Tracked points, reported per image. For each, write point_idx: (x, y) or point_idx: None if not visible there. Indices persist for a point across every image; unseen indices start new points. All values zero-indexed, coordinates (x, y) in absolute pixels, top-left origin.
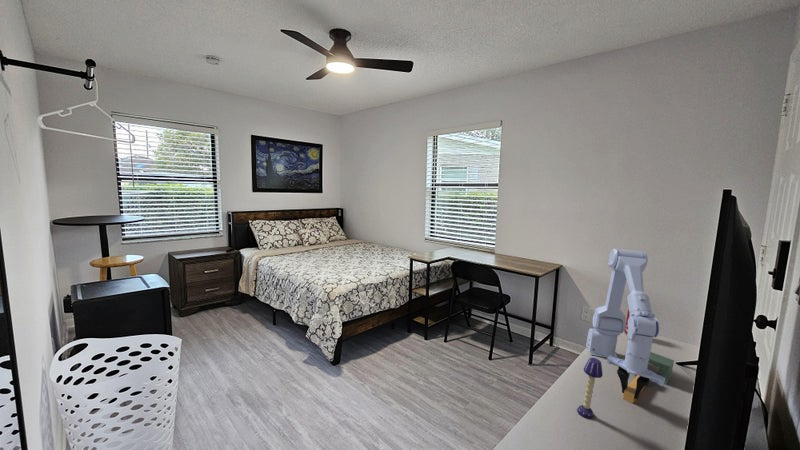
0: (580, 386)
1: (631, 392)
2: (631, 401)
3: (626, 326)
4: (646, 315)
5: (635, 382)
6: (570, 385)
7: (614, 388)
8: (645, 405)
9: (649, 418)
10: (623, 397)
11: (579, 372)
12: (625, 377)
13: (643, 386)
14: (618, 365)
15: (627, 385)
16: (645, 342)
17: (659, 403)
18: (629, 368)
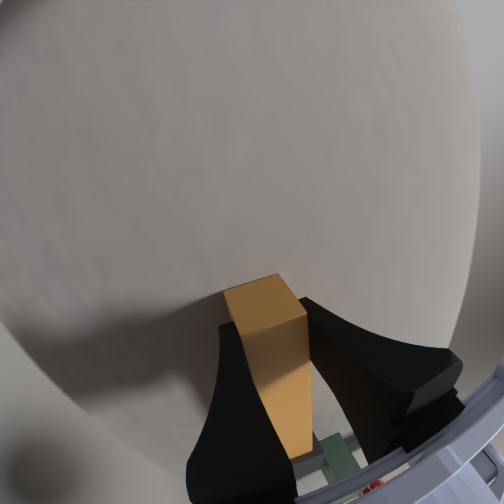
0: (440, 147)
1: (265, 336)
2: (233, 294)
3: (381, 483)
4: None
5: (296, 416)
6: (459, 110)
7: (342, 309)
8: (180, 343)
9: (85, 255)
10: (281, 280)
11: (459, 252)
12: (381, 384)
13: (202, 440)
14: (492, 408)
15: (314, 364)
16: None
17: (168, 405)
18: (442, 495)
